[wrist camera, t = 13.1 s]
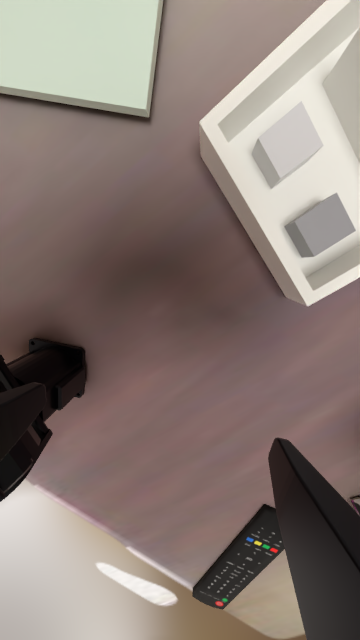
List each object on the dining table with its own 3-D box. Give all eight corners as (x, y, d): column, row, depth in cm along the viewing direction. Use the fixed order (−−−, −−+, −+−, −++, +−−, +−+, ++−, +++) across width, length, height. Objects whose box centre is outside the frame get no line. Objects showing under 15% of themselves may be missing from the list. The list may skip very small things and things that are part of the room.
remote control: (299, 515, 26) (304, 528, 25) (220, 597, 33) (221, 611, 32) (263, 499, 26) (266, 511, 25) (191, 584, 33) (191, 597, 32)
